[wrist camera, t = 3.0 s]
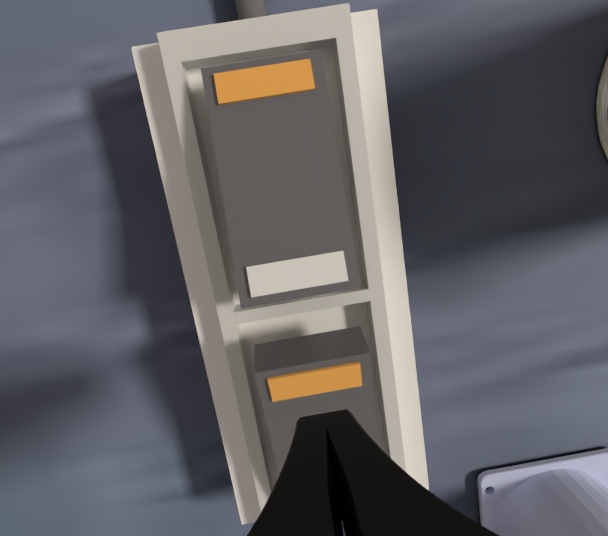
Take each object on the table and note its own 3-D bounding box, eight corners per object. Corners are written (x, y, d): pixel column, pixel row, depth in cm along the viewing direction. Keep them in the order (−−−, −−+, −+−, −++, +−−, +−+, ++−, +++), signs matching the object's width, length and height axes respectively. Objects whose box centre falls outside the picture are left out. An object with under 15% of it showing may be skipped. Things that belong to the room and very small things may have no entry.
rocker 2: (373, 468, 19) (383, 503, 18) (288, 483, 19) (290, 520, 18) (359, 325, 16) (371, 354, 14) (254, 344, 16) (254, 375, 14)
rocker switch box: (409, 449, 23) (437, 505, 19) (246, 479, 23) (240, 542, 19) (341, -127, 17) (361, -217, 13) (118, -95, 17) (70, -176, 13)
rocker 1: (354, 286, 15) (362, 287, 14) (246, 305, 15) (240, 308, 14) (317, 73, 16) (320, 47, 14) (210, 90, 15) (199, 66, 14)
